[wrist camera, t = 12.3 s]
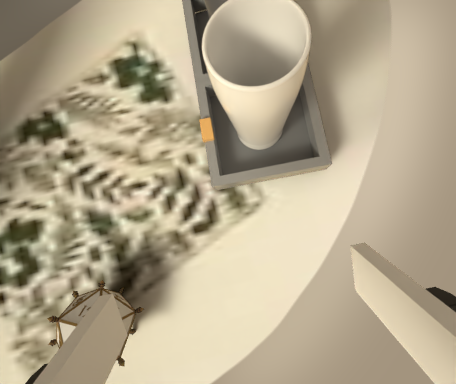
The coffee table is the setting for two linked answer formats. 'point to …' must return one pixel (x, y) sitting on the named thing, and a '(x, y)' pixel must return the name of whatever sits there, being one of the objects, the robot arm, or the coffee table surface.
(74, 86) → the coffee table surface
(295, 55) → the drinking glass
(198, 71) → the divided desk organizer
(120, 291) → the game die
